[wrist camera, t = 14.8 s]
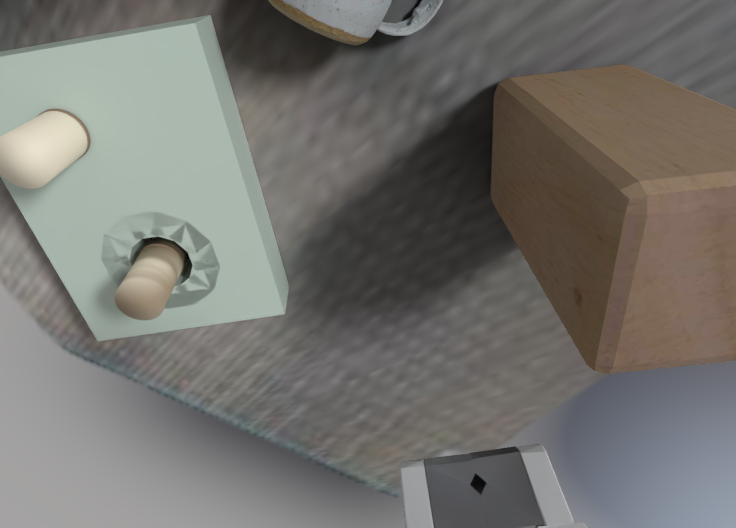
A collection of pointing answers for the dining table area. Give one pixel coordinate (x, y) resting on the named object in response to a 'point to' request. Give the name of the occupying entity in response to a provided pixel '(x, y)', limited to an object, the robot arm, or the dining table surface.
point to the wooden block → (623, 211)
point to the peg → (151, 279)
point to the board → (139, 173)
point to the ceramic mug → (354, 17)
